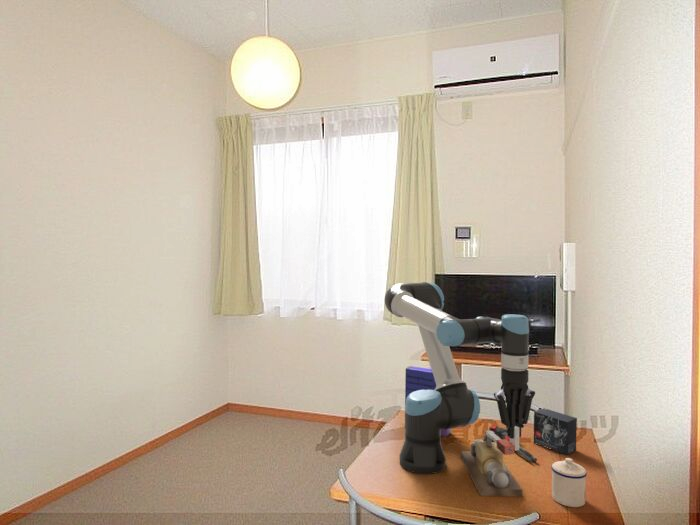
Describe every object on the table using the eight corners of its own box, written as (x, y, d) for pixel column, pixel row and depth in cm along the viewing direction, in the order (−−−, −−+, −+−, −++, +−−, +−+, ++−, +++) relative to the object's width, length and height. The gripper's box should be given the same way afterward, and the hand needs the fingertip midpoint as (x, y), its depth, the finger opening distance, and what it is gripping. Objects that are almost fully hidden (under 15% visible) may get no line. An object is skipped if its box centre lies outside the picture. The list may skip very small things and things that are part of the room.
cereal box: (450, 432, 182) (451, 371, 182) (446, 436, 178) (447, 374, 178) (409, 424, 192) (410, 365, 191) (404, 427, 187) (405, 368, 187)
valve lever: (483, 435, 149) (483, 428, 149) (491, 435, 149) (492, 427, 149) (504, 454, 134) (504, 446, 134) (514, 454, 135) (514, 446, 135)
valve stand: (480, 495, 135) (480, 454, 135) (460, 456, 161) (461, 422, 161) (522, 496, 135) (522, 455, 134) (496, 457, 161) (496, 422, 160)
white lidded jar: (593, 507, 129) (594, 465, 129) (563, 509, 128) (564, 467, 128) (566, 485, 141) (567, 447, 141) (538, 487, 140) (539, 449, 140)
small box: (532, 443, 173) (533, 411, 173) (542, 439, 177) (543, 407, 177) (567, 455, 163) (567, 421, 162) (577, 451, 167) (577, 417, 167)
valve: (469, 441, 179) (504, 432, 183) (508, 476, 154) (548, 464, 158) (468, 425, 179) (502, 417, 182) (507, 457, 154) (546, 446, 157)
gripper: (503, 373, 131) (503, 456, 131) (542, 369, 135) (541, 450, 135) (488, 366, 138) (487, 446, 138) (524, 363, 142) (524, 440, 142)
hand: (514, 448), depth 137 cm, fingers closed
